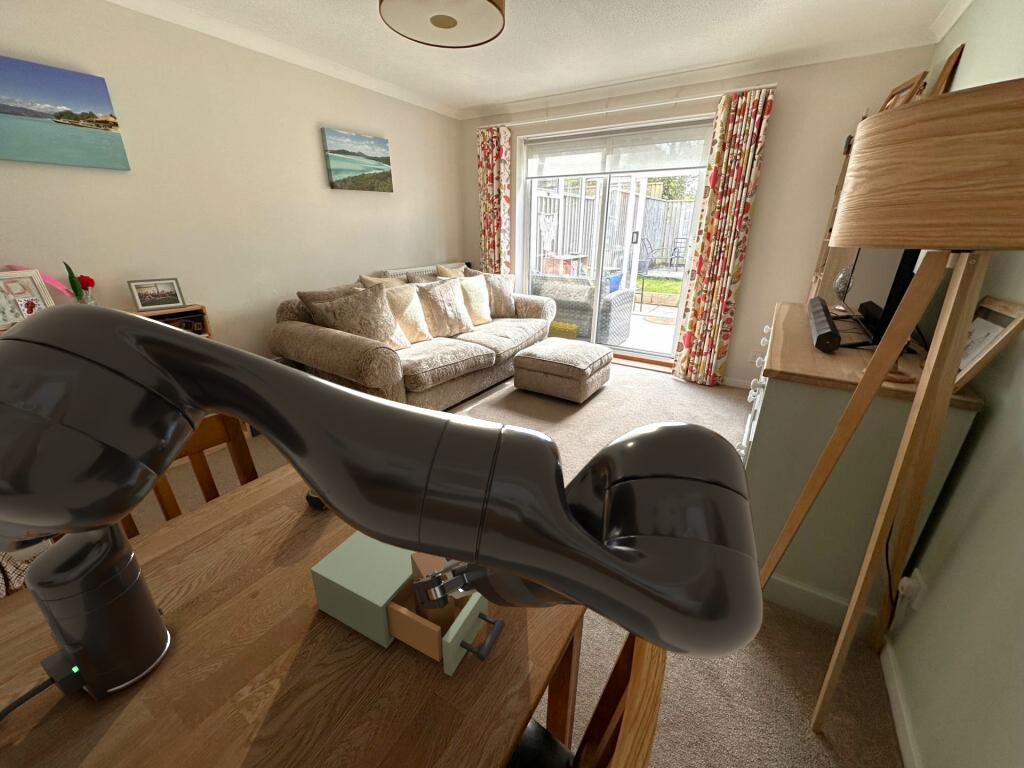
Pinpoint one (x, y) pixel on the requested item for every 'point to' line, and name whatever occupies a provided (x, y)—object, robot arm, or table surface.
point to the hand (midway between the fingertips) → (466, 567)
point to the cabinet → (362, 584)
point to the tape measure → (314, 500)
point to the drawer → (428, 635)
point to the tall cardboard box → (420, 569)
